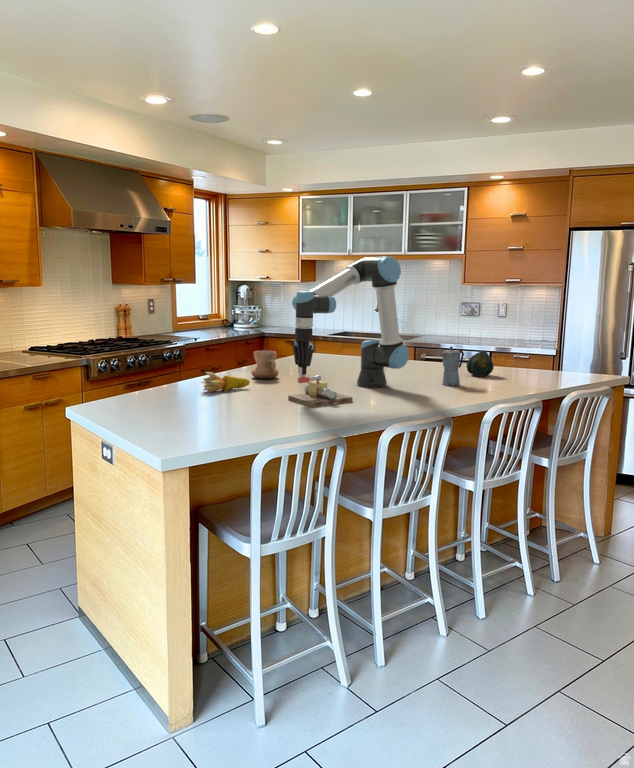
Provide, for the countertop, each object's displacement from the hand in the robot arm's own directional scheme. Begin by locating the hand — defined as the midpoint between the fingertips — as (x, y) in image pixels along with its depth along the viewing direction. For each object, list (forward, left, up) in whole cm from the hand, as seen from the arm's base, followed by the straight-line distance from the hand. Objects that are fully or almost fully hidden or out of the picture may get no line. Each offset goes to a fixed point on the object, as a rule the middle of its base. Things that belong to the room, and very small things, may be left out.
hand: (302, 381), depth 270 cm
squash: (-127, -6, -9) cm, 128 cm away
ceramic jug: (-19, -61, -9) cm, 65 cm away
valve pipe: (-8, +3, -8) cm, 11 cm away
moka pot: (-90, +6, -9) cm, 91 cm away
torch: (+16, -41, -9) cm, 45 cm away
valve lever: (-3, +1, 0) cm, 3 cm away
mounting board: (-8, +3, -9) cm, 12 cm away
